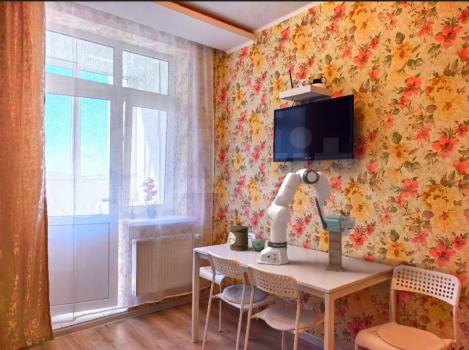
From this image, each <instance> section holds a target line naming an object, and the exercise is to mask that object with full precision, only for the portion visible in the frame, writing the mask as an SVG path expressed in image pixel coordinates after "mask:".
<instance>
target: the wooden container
mask: <svg viewBox="0 0 469 350" xmlns="http://www.w3.org/2000/svg"><path fill="white" fill-rule="evenodd" d="M229 237H230V238H229V244H230V245H229V249H230V251H234V250H236V251H235V252H245V251H248V250H249V226H247V225H242V223H241V221H237V223H236V225H232V226H230V227H229Z"/></svg>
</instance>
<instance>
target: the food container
mask: <svg viewBox="0 0 469 350" xmlns="http://www.w3.org/2000/svg"><path fill="white" fill-rule="evenodd" d="M250 242H251V245H252V246H251V247H252V252H254V251H255V252H254V253H260V252H261V251H262V250H263V249H265V248H266V246H265V245H266V242H267V239H266V238H251V240H250Z"/></svg>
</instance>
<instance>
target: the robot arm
mask: <svg viewBox="0 0 469 350" xmlns="http://www.w3.org/2000/svg"><path fill="white" fill-rule="evenodd" d="M301 184H303V185H312V186H313V188H314V189H315V193H316V196H315V198H314V200H315V205H316V209H317V213H318V215H319V219H320V225H321V228H322V229H323V230H325V231H326V228H327V219H328V217H329V216H335V214H336V212H341V213H342V215H341V228H345V231H343V232H342V237H347V236H349V235H350V233H351V230H354V229H355V226H356V221H357V219H356V217H354V216H347V215H346V212H344V211H343V210H341V209H340V210H336V211H334V212H331V213H329V214H327V215H325V212H324V208H323V206H324V203H325V202H326V201H327V200H328V199H329V198H330V197H331V195H332V193H333V188H332V185H331V183H330V181H329V179H328V178H327V176H326V175H325V173H324V172H322V171H316V170H314V169H311V168H299V169H298V170H296V171H295V172H289V173H287V174H286V176H285V177H284V179H283V181H282V183H281V186H280V188H279V190H278V192H277V195H276V196H275V198H274V199H273V201H272V202H271V204H270V206H269V207H268V208H267V210H266V213H267V216H268V217H269V218H270V219H271V220H272V223H271V227H270V231H269V233H270V235H269V237H270V238H269V239H270V240H266V242H267V246H265V248H264V249H263V250H262V251H261V252H259V257H257V258H256V260H255V261H256V262H255V263H257V264H261V265H262V264H263V265H272V266H273V265H275V266H280V265H285V264H288V263H290V260H289V256H288V241H287V230H288V229H287V228H288V224H289V220H290V218H291V212H290V211H289V209H288V207H289V206H290V204H291V203H292V202H293V200H294V198H295V195H296V193H297V190H298V187H299V186H300V185H301Z"/></svg>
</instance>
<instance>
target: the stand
mask: <svg viewBox="0 0 469 350" xmlns="http://www.w3.org/2000/svg"><path fill="white" fill-rule="evenodd" d="M343 231H345V228H340V231H339V232H337V231H328V229H327V228H326V230H325V232H328V265H327V266H326V267H325V268H326V271H333V272H340V273H341V272H342V273H343V272H344V271H345V270H346V268H345V266H343V249H342V248H343V247H342V246H343V238H342V237H343V236H342V232H343Z"/></svg>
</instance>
